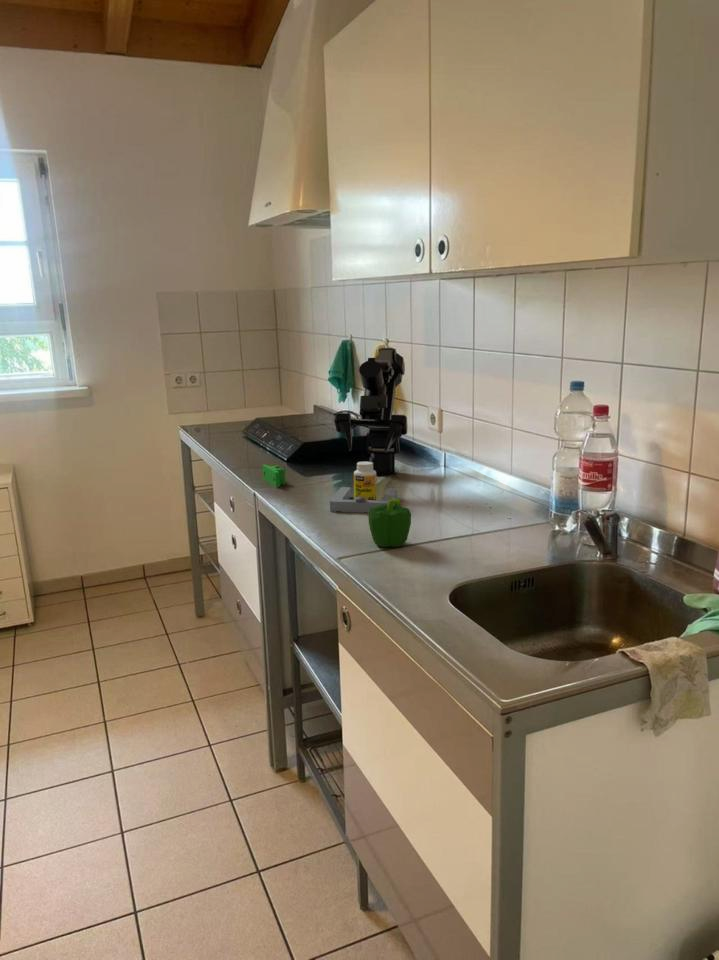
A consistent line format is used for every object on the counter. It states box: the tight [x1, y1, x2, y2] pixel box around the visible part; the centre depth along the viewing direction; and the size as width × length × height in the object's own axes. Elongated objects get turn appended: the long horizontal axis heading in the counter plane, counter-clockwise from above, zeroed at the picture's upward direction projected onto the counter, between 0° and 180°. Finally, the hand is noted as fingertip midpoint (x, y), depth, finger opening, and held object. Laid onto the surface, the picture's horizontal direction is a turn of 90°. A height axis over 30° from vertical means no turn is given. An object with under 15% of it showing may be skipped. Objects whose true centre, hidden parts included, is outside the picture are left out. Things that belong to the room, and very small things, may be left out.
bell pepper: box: [367, 498, 412, 548], centre depth 147 cm, size 8×8×10 cm
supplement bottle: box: [353, 461, 377, 500], centre depth 179 cm, size 6×6×10 cm
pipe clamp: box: [262, 464, 286, 488], centre depth 202 cm, size 11×4×5 cm, turn 26°
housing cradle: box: [329, 486, 398, 513], centre depth 178 cm, size 14×14×3 cm
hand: (367, 451), depth 185 cm, fingers open, 9 cm apart
